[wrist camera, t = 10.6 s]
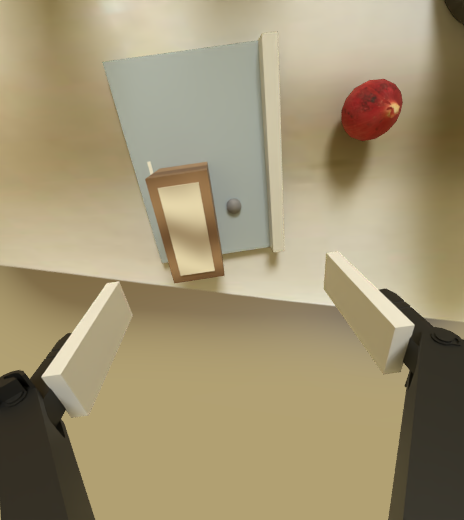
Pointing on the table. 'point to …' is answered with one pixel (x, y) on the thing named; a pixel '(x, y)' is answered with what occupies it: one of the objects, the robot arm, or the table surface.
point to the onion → (371, 109)
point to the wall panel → (210, 131)
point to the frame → (187, 221)
